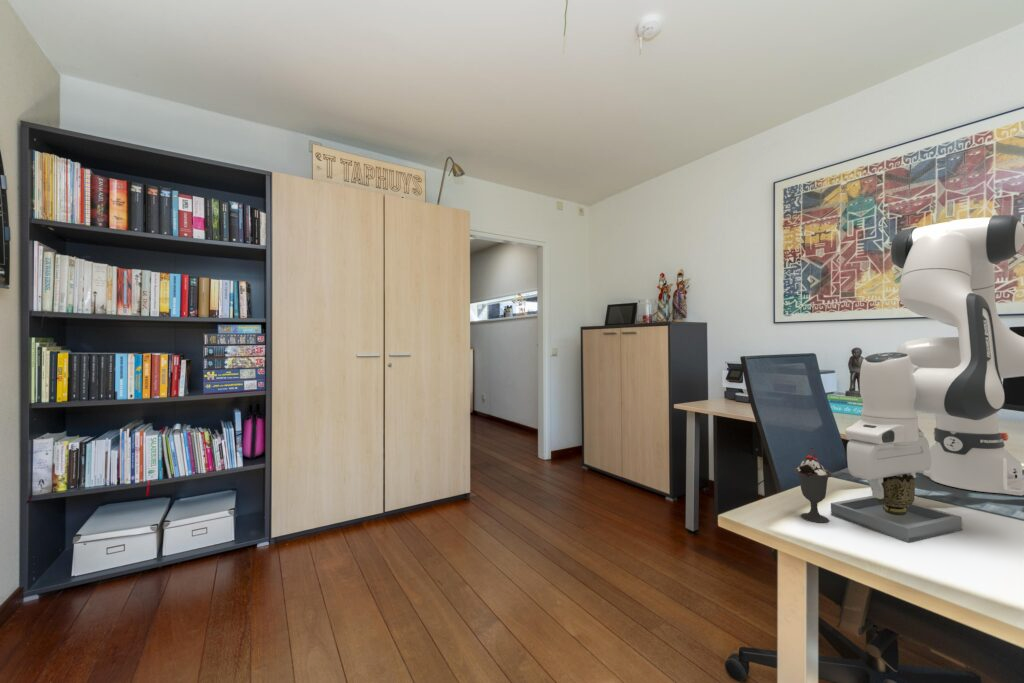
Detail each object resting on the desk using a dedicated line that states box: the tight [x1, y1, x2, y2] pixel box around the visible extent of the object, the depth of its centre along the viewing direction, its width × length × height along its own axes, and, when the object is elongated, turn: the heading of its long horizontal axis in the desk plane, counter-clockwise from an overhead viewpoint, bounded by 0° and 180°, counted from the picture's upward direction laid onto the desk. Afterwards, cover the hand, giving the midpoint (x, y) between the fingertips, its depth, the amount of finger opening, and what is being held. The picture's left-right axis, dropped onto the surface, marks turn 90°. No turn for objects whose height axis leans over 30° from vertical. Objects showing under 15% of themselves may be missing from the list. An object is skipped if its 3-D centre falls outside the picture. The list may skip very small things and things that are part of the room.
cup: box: [870, 474, 916, 516], centre depth 86 cm, size 8×7×8 cm
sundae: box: [793, 446, 833, 524], centre depth 89 cm, size 7×7×15 cm
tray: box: [830, 495, 963, 544], centre depth 86 cm, size 16×14×3 cm
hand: (892, 495), depth 86 cm, fingers closed on cup, 6 cm apart
